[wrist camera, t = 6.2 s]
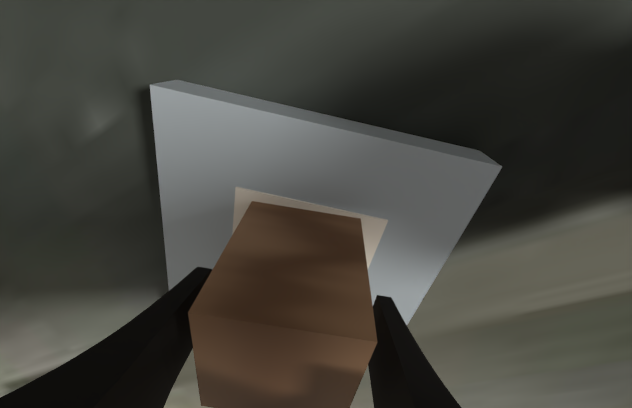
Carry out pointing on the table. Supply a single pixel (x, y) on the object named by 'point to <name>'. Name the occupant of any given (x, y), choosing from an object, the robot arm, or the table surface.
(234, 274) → the walnut block
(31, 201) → the table surface
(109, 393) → the robot arm
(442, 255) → the base board
